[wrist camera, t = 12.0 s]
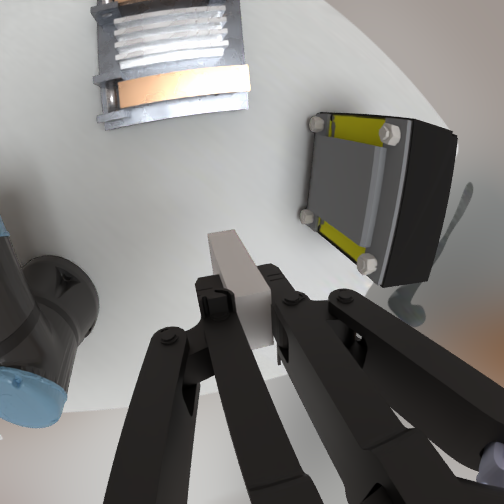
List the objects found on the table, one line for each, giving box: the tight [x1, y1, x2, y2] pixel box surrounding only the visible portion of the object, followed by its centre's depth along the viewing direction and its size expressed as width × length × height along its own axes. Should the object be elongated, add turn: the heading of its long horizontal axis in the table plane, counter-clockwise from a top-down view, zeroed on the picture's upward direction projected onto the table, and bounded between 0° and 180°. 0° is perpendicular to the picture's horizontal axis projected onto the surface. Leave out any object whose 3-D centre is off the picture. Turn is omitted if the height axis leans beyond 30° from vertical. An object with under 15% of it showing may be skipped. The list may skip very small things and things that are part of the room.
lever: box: [118, 65, 250, 109], centre depth 29 cm, size 14×3×1 cm, turn 94°
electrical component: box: [300, 112, 458, 288], centre depth 37 cm, size 18×10×20 cm, turn 176°
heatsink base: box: [91, 0, 249, 130], centre depth 29 cm, size 18×20×9 cm
